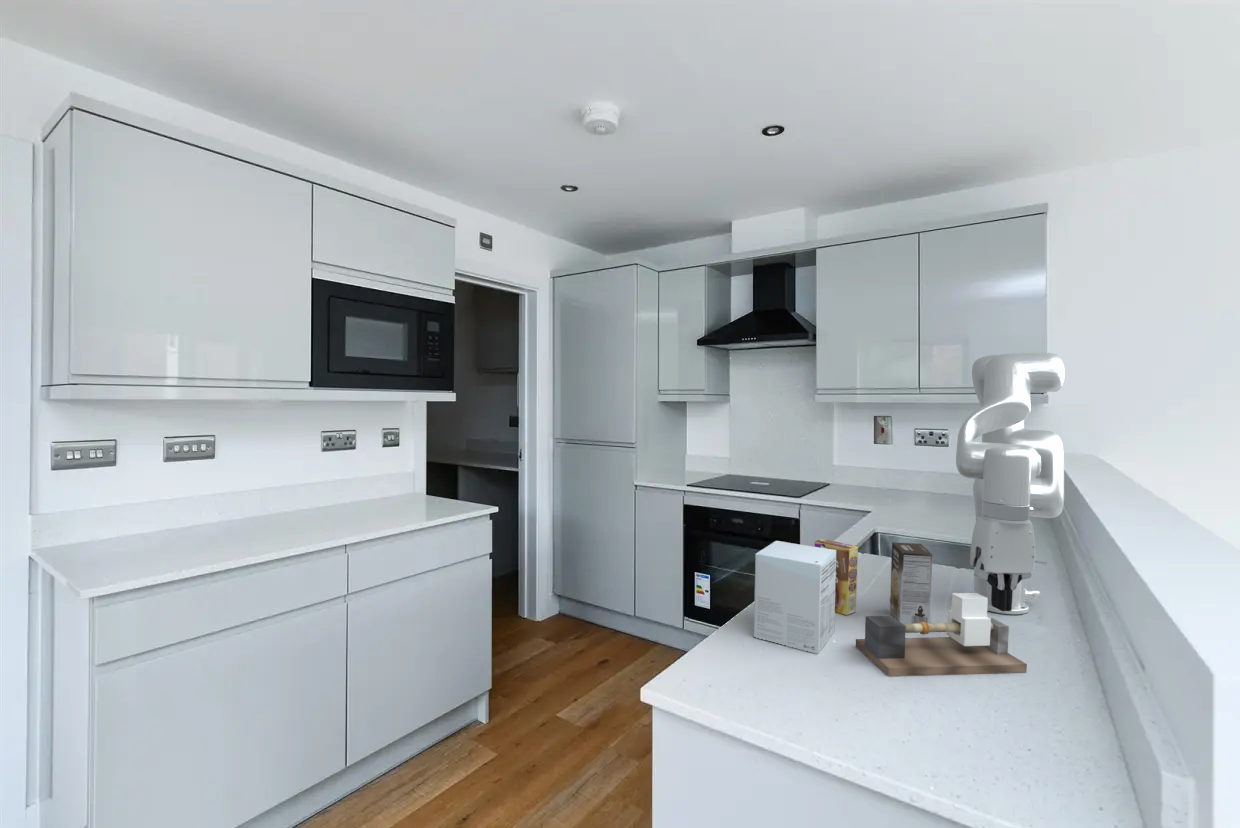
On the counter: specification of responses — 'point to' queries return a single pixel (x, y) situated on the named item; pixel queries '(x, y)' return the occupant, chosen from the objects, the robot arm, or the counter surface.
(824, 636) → the supplement box
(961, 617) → the stepped white block
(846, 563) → the candy box
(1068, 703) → the counter surface
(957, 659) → the wooden board rod assembly
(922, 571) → the coffee box
